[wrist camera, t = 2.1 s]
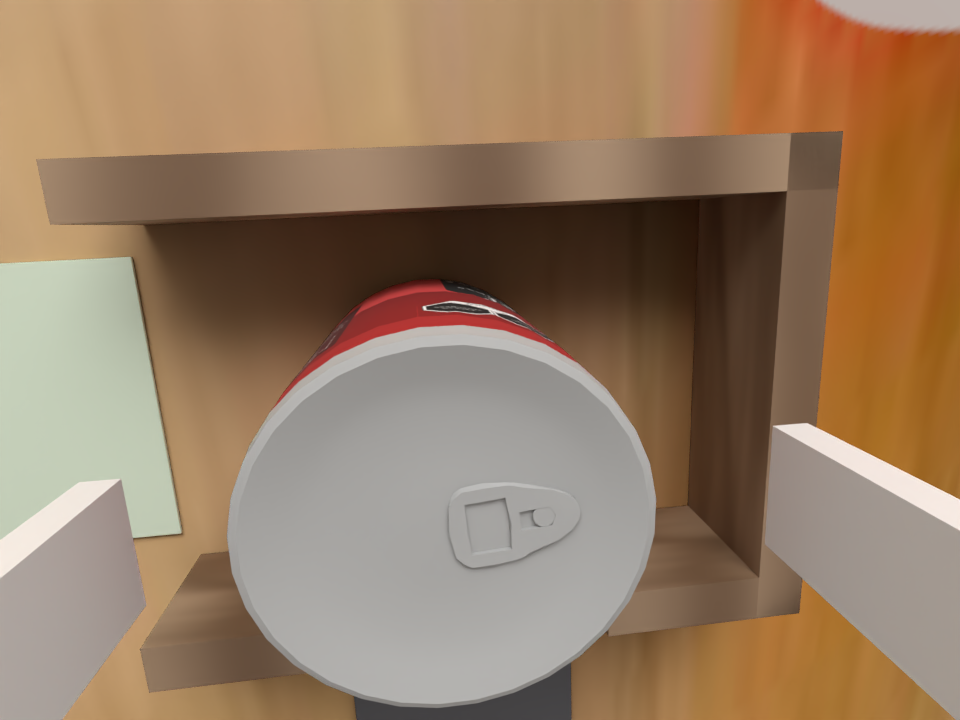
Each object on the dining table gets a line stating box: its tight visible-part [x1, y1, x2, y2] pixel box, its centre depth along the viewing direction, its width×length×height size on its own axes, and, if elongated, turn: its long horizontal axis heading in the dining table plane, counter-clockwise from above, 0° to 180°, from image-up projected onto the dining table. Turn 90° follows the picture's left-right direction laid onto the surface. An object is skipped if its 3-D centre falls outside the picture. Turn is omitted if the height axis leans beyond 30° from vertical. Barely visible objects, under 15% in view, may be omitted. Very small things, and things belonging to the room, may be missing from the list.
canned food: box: [227, 279, 656, 708], centre depth 16 cm, size 8×8×11 cm
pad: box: [0, 257, 182, 540], centre depth 20 cm, size 9×10×1 cm
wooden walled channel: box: [36, 131, 843, 693], centre depth 19 cm, size 20×15×5 cm
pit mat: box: [354, 662, 571, 720], centre depth 24 cm, size 9×9×1 cm
